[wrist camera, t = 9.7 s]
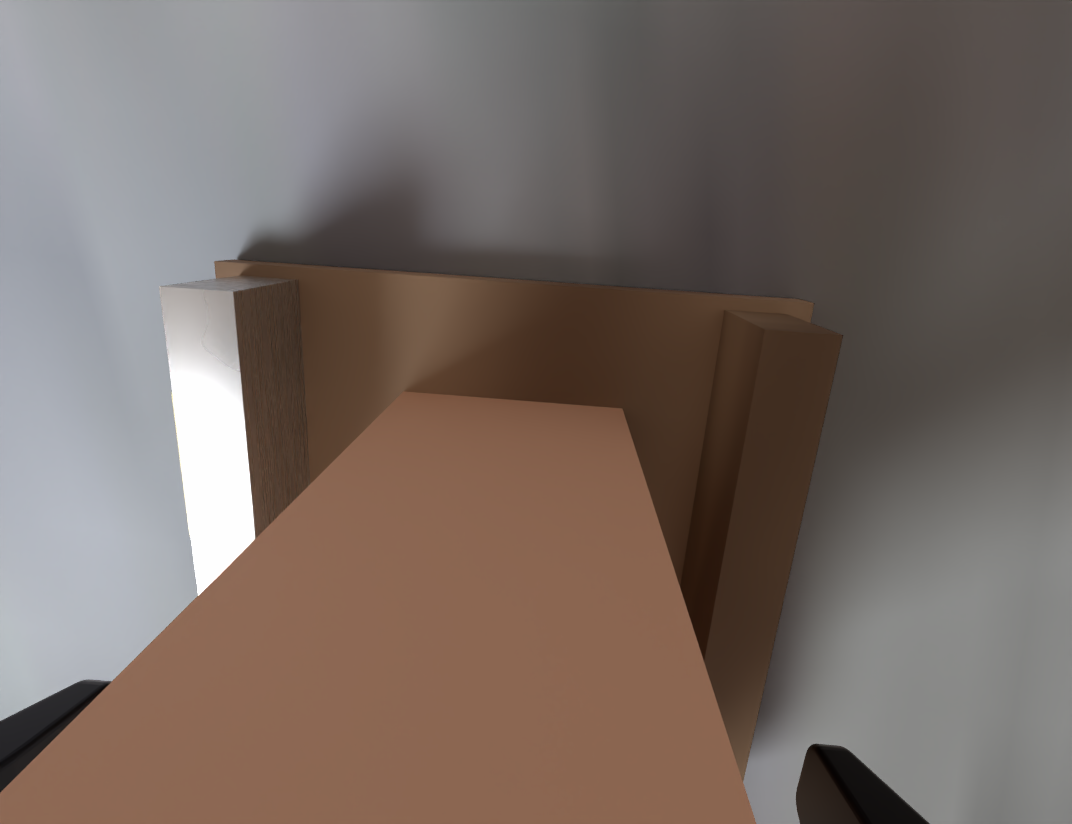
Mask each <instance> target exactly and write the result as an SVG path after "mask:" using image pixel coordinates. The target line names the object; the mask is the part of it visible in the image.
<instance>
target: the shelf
mask: <svg viewBox="0 0 1072 824" xmlns="http://www.w3.org/2000/svg"><path fill="white" fill-rule="evenodd" d="M214 263H215V273H216V279H210V280H202V281H195V282H188V283H180V284H173V285H166V286H159V290H160V298H161V306H162V313H163V321H164V329H165V337H166V345H167V353H168V361H169V368H170V376H171V384H172V392H171V395H172V403H173V411H174V419H175V426H176V434H177V442H178V450H179V458H180V465H181V473H182V481H183V489H184V497H185V504H186V512H187V520H188V528H189V536H190V537H191V541H192V549H193V557H194V565H195V572H196V580H197V588H198V595H199V594H200V593H201V592H202V591H203V590H204V589H205V588H206V587H207V586H208V585H209V584H210V583H211V582H212V581H213V580H214V579H216V578H217V577H218V576H219V575H220V574H221V573H222V572H223V571H224V570H225V569H226V568H227V567H228V566H229V565H230V564H231V563H232V562H233V561H234V560H235V559H236V558H237V557H238V556H239V555H240V554H241V553H242V552H243V551H244V550H245V549H246V548H247V547H248V546H249V545H250V544H251V543H252V542H253V541H254V540H255V539H256V538H257V537H258V536H259V535H260V534H261V533H262V532H263V531H264V530H265V529H266V528H267V527H268V526H269V525H270V524H271V523H272V522H273V521H274V520H275V519H276V518H277V517H278V516H279V515H280V514H281V513H282V512H283V511H284V510H285V509H286V508H287V507H288V506H289V505H290V504H291V503H292V502H293V501H294V500H295V499H296V498H297V497H298V496H299V495H300V494H301V493H302V492H303V491H304V490H305V489H306V488H307V487H308V486H309V485H310V484H311V483H312V482H313V481H314V480H315V479H316V478H317V477H318V476H319V475H320V474H321V473H322V472H323V471H324V470H325V469H326V468H327V467H328V466H329V465H330V464H331V463H332V462H333V461H334V460H335V459H336V458H337V457H338V456H339V455H340V454H341V453H342V452H343V451H344V450H345V449H346V448H347V447H348V446H349V445H350V444H351V443H352V442H353V441H354V440H355V439H356V438H357V437H358V436H359V435H360V434H361V433H362V432H363V431H364V430H365V429H366V428H367V427H368V426H369V425H370V424H371V423H372V422H373V421H374V420H375V419H376V418H377V417H378V416H379V415H380V414H381V413H382V412H383V411H384V410H385V409H386V408H387V407H388V406H389V405H390V404H391V403H392V402H393V401H394V400H395V399H396V398H397V397H398V396H399V395H400V394H401V393H402V392H403V391H404V392H417V393H430V394H443V395H456V396H468V397H481V398H494V399H507V400H520V401H533V402H545V403H558V404H571V405H584V406H597V407H610V408H622V409H623V412H624V415H625V418H626V421H627V424H628V427H629V431H630V434H631V437H632V440H633V443H634V446H635V449H636V452H637V455H638V459H639V462H640V465H641V468H642V471H643V474H644V477H645V480H646V483H647V486H648V490H649V493H650V496H651V499H652V502H653V505H654V508H655V511H656V514H657V517H658V521H659V524H660V527H661V530H662V533H663V536H664V539H665V542H666V545H667V548H668V552H669V555H670V558H671V561H672V564H673V567H674V570H675V573H676V576H677V580H678V583H679V586H680V589H681V592H682V595H683V598H684V601H685V604H686V607H687V611H688V614H689V617H690V620H691V623H692V626H693V629H694V632H695V635H696V638H697V642H698V645H699V648H700V651H701V654H702V657H703V660H704V663H705V666H706V670H707V673H708V676H709V679H710V682H711V685H712V688H713V691H714V694H715V697H716V701H717V704H718V707H719V710H720V713H721V716H722V719H723V722H724V725H725V728H726V732H727V735H728V738H729V741H730V744H731V747H732V750H733V753H734V756H735V759H736V763H737V766H738V769H739V772H740V775H741V778H742V781H743V780H744V775H745V771H746V766H747V762H748V757H749V753H750V748H751V744H752V739H753V735H754V731H755V726H756V722H757V717H758V713H759V708H760V704H761V699H762V695H763V690H764V686H765V681H766V677H767V673H768V668H769V664H770V659H771V655H772V650H773V646H774V641H775V637H776V632H777V628H778V623H779V619H780V615H781V610H782V606H783V601H784V597H785V592H786V588H787V583H788V579H789V574H790V570H791V565H792V561H793V556H794V552H795V548H796V543H797V539H798V534H799V530H800V525H801V521H802V516H803V512H804V507H805V503H806V498H807V494H808V490H809V485H810V481H811V476H812V472H813V467H814V463H815V458H816V454H817V449H818V445H819V440H820V436H821V432H822V427H823V423H824V418H825V414H826V409H827V405H828V400H829V396H830V391H831V387H832V382H833V378H834V373H835V369H836V365H837V360H838V356H839V351H840V347H841V342H842V338H843V335H841V334H838V333H836V332H833V331H831V330H828V329H825V328H823V327H820V326H817V325H815V324H812V323H810V322H811V317H812V312H813V307H814V303H811V302H808V301H805V300H801V299H791V298H777V297H762V296H748V295H734V294H719V293H705V292H691V291H676V290H662V289H648V288H633V287H619V286H605V285H590V284H576V283H562V282H548V281H533V280H519V279H505V278H490V277H476V276H462V275H447V274H433V273H419V272H404V271H390V270H376V269H361V268H347V267H333V266H319V265H304V264H290V263H276V262H261V261H247V260H224V261H214Z"/></svg>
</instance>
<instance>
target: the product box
mask: <svg viewBox="0 0 1072 824" xmlns="http://www.w3.org/2000/svg"><path fill="white" fill-rule="evenodd" d="M0 824H756V822H755V818H754V815H753V812H752V809H751V806H750V803H749V800H748V797H747V794H746V791H745V787H744V784H743V781H742V778H741V775H740V772H739V769H738V766H737V763H736V759H735V756H734V753H733V750H732V747H731V744H730V741H729V738H728V735H727V732H726V728H725V725H724V722H723V719H722V716H721V713H720V710H719V707H718V704H717V701H716V697H715V694H714V691H713V688H712V685H711V682H710V679H709V676H708V673H707V670H706V666H705V663H704V660H703V657H702V654H701V651H700V648H699V645H698V642H697V638H696V635H695V632H694V629H693V626H692V623H691V620H690V617H689V614H688V611H687V607H686V604H685V601H684V598H683V595H682V592H681V589H680V586H679V583H678V580H677V576H676V573H675V570H674V567H673V564H672V561H671V558H670V555H669V552H668V548H667V545H666V542H665V539H664V536H663V533H662V530H661V527H660V524H659V521H658V517H657V514H656V511H655V508H654V505H653V502H652V499H651V496H650V493H649V490H648V486H647V483H646V480H645V477H644V474H643V471H642V468H641V465H640V462H639V459H638V455H637V452H636V449H635V446H634V443H633V440H632V437H631V434H630V431H629V427H628V424H627V421H626V418H625V415H624V412H623V409H622V408H610V407H597V406H584V405H571V404H558V403H545V402H533V401H520V400H507V399H494V398H481V397H468V396H456V395H443V394H430V393H417V392H404V391H403V392H402V393H401V394H400V395H399V396H398V397H397V398H396V399H395V400H394V401H393V402H392V403H391V404H390V405H389V406H388V407H387V408H386V409H385V410H384V411H383V412H382V413H381V414H380V415H379V416H378V417H377V418H376V419H375V420H374V421H373V422H372V423H371V424H370V425H369V426H368V427H367V428H366V429H365V430H364V431H363V432H362V433H361V434H360V435H359V436H358V437H357V438H356V439H355V440H354V441H353V442H352V443H351V444H350V445H349V446H348V447H347V448H346V449H345V450H344V451H343V452H342V453H341V454H340V455H339V456H338V457H337V458H336V459H335V460H334V461H333V462H332V463H331V464H330V465H329V466H328V467H327V468H326V469H325V470H324V471H323V472H322V473H321V474H320V475H319V476H318V477H317V478H316V479H315V480H314V481H313V482H312V483H311V484H310V485H309V486H308V487H307V488H306V489H305V490H304V491H303V492H302V493H301V494H300V495H299V496H298V497H297V498H296V499H295V500H294V501H293V502H292V503H291V504H290V505H289V506H288V507H287V508H286V509H285V510H284V511H283V512H282V513H281V514H280V515H279V516H278V517H277V518H276V519H275V520H274V521H273V522H272V523H271V524H270V525H269V526H268V527H267V528H266V529H265V530H264V531H263V532H262V533H261V534H260V535H259V536H258V537H257V538H256V539H255V540H254V541H253V542H252V543H251V544H250V545H249V546H248V547H247V548H246V549H245V550H244V551H243V552H242V553H241V554H240V555H239V556H238V557H237V558H236V559H235V560H234V561H233V562H232V563H231V564H230V565H229V566H228V567H227V568H226V569H225V570H224V571H223V572H222V573H221V574H220V575H219V576H218V577H217V578H216V579H214V580H213V581H212V582H211V583H210V584H209V585H208V586H207V587H206V588H205V589H204V590H203V591H202V592H201V593H200V594H199V595H198V596H197V597H196V598H195V599H194V600H193V601H192V602H191V603H190V604H189V605H188V606H187V607H186V608H185V609H184V610H183V611H182V612H181V613H180V614H179V615H178V616H177V617H176V618H175V619H174V620H173V621H172V622H171V623H170V624H169V625H168V626H167V627H166V628H165V629H164V630H163V631H162V632H161V633H160V634H159V635H158V636H157V637H156V638H155V639H154V640H153V641H152V642H151V643H150V644H149V645H148V646H147V647H146V648H145V649H144V650H143V651H142V652H141V653H140V654H139V655H138V656H137V657H136V658H135V659H134V660H133V661H132V662H131V663H130V664H129V665H128V666H127V667H126V668H125V669H124V670H123V671H122V672H121V673H120V674H119V675H118V676H117V677H116V678H115V679H114V680H113V681H112V682H111V683H110V684H109V685H108V686H107V687H106V688H105V689H104V690H103V691H102V692H101V693H100V694H99V695H98V696H97V697H96V698H95V699H94V700H93V701H92V702H91V703H90V704H89V705H88V706H87V707H86V708H85V709H84V710H83V711H82V712H81V713H80V714H79V715H78V716H77V717H76V718H75V719H74V720H73V721H72V722H71V723H70V724H69V725H68V726H67V727H66V728H65V729H64V730H63V731H62V732H61V733H60V734H59V735H58V736H57V737H56V738H55V739H54V740H53V741H52V742H51V743H50V744H49V745H48V746H47V747H46V748H45V749H44V750H43V751H42V752H41V753H40V754H39V755H38V756H37V757H36V758H35V759H34V760H33V761H32V762H31V763H30V764H29V765H28V766H27V767H26V768H25V769H24V770H23V771H22V772H21V773H20V774H19V775H18V776H17V777H16V778H15V779H14V780H13V781H12V782H11V783H10V784H9V785H8V786H7V787H5V788H4V789H3V790H2V791H1V792H0Z"/></svg>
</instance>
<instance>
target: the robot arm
mask: <svg viewBox="0 0 1072 824" xmlns="http://www.w3.org/2000/svg"><path fill="white" fill-rule="evenodd" d="M111 682H112V681H101V680H83V681H80V682H77V683H75V684H73V685H71V686H69V687H67V688H65V689H63V690H61V691H59V692H57V693H55V694H53V695H51V696H49V697H47V698H45V699H43V700H41V701H39V702H37V703H35V704H33V705H31V706H29V707H27V708H25V709H24V710H22V711H20V712H18V713H16V714H14V715H12V716H10V717H8V718H6V719H4V720H2V721H0V792H1V791H2V790H3V789H4V788H5V787H7V786H8V785H9V784H10V783H11V782H12V781H13V780H14V779H15V778H16V777H17V776H18V775H19V774H20V773H21V772H22V771H23V770H24V769H25V768H26V767H27V766H28V765H29V764H30V763H31V762H32V761H33V760H34V759H35V758H36V757H37V756H38V755H39V754H40V753H41V752H42V751H43V750H44V749H45V748H46V747H47V746H48V745H49V744H50V743H51V742H52V741H53V740H54V739H55V738H56V737H57V736H58V735H59V734H60V733H61V732H62V731H63V730H64V729H65V728H66V727H67V726H68V725H69V724H70V723H71V722H72V721H73V720H74V719H75V718H76V717H77V716H78V715H79V714H80V713H81V712H82V711H83V710H84V709H85V708H86V707H87V706H88V705H89V704H90V703H91V702H92V701H93V700H94V699H95V698H96V697H97V696H98V695H99V694H100V693H101V692H102V691H103V690H104V689H105V688H106V687H107V686H108V685H109V684H110V683H111ZM796 805H797V812H798V816H799V820H800V824H929V823H928V822H927V821H926V820H925V819H924V818H923V817H922V816H921V815H920V814H918V813H917V812H916V811H915V810H914V809H913V808H912V807H911V806H910V805H909V804H907V803H906V802H905V801H904V800H903V799H902V798H901V797H900V796H899V795H898V794H896V793H895V792H894V791H893V790H892V789H891V788H890V787H889V786H888V785H887V784H885V783H884V782H883V781H882V780H881V779H880V778H879V777H878V776H877V775H876V774H875V773H873V772H872V771H871V770H870V769H869V768H868V767H867V766H866V765H865V764H864V763H862V762H861V761H860V760H859V759H858V758H857V757H856V756H855V755H854V754H853V753H851V752H850V751H849V750H847V749H846V748H844V747H841V746H835V745H824V744H813V745H811V746H810V747H809V748H808V750H807V753H806V756H805V760H804V764H803V768H802V772H801V775H800V779H799V783H798V787H797V792H796Z"/></svg>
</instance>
